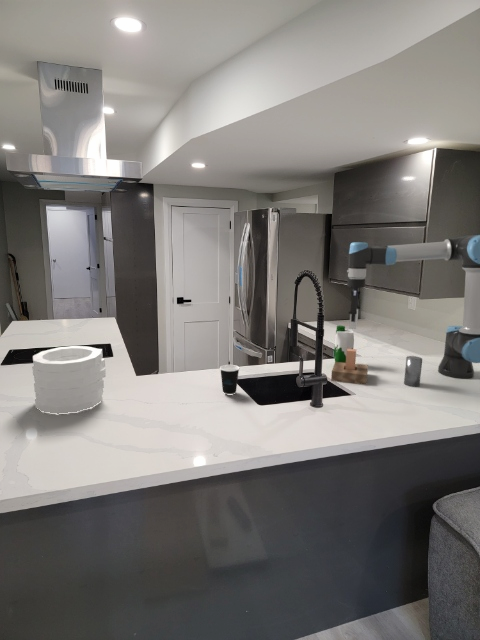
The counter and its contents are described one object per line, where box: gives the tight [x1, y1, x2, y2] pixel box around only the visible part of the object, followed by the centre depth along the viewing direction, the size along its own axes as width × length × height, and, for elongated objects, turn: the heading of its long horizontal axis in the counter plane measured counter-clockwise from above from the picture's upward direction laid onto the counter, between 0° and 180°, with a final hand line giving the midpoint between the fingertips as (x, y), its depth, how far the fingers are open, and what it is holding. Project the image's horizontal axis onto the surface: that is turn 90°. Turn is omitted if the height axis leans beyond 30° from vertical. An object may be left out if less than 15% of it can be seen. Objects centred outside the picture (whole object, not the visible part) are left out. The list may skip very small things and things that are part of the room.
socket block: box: [330, 361, 369, 386], centre depth 189 cm, size 15×15×4 cm
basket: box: [32, 345, 107, 414], centre depth 155 cm, size 25×24×19 cm
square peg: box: [345, 348, 357, 370], centre depth 188 cm, size 4×4×13 cm
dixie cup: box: [219, 364, 241, 394], centre depth 166 cm, size 8×8×11 cm
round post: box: [403, 355, 423, 388], centre depth 180 cm, size 6×6×12 cm
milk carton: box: [333, 325, 355, 363], centre depth 205 cm, size 9×9×20 cm
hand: (353, 325), depth 184 cm, fingers open, 13 cm apart
